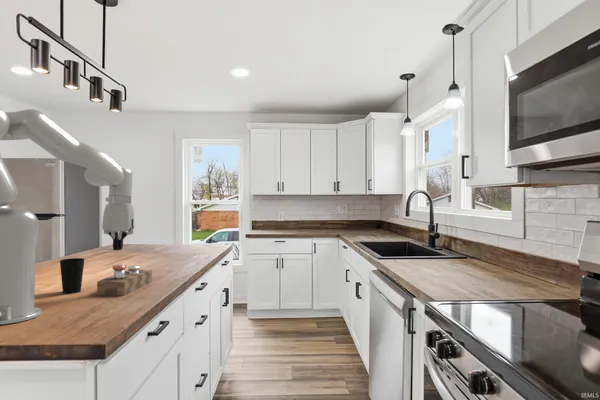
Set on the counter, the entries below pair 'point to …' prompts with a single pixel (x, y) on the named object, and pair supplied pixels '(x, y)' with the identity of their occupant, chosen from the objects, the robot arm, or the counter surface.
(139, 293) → the counter surface
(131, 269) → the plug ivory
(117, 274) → the plug red
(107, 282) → the socket block
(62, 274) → the cup
